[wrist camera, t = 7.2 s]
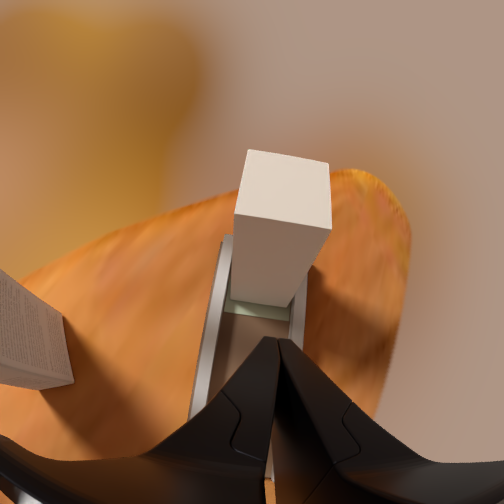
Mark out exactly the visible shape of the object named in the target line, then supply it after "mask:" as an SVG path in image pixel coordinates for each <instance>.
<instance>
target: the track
mask: <svg viewBox="0 0 504 504" xmlns="http://www.w3.org/2000/svg"><path fill="white" fill-rule="evenodd" d="M232 248H233V235H229V234H225V236H224V240H223V242H221V244H220V249H219V254H218V258H217V263H216V268H215V273H214V277H213V282H212V287H211V292H210V297H209V302H208V307H207V312H206V317H205V323H204V328H203V333H202V338H201V344H200V349H199V355H198V360H197V366H196V371H195V377H194V383H193V389H192V395H191V401H190V407H189V413H188V419H187V422H188V421H189V420H190V419H191V418H192V417H194V416H195V415H196V414H197V413H198V412H199V411H201V410H202V409H203V408H204V407H205V406H206V404H207V403H208V402H209V401H210V400H211V399H212V398H213V397H214V396H215V395H216V393H217V392H218V391H219V390H220V389H221V388H222V387H223V385H224V384H225V383H226V382H227V381H228V379H229V378H230V377H231V376H232V374H233V373H234V372H235V371H236V370H237V368H238V367H239V366H240V365H241V363H242V362H243V361H244V360H245V359H246V357H247V356H248V355H249V354H250V352H251V351H252V350H253V349H254V347H255V346H256V345H257V343H258V342H259V341H260V340H261V338H262V337H263V336H270V337H276V338H277V339H278V338H286V339H291V340H292V341H293V342H294V343H295V344H296V345H297V346H298V347H299V348H300V349H301V350H302V351H303V342H304V329H305V315H306V300H307V282H308V272H307V274H306V276H305V278H304V279H303V281H302V283H301V284H300V286H299V288H298V289H297V291H296V293H295V294H294V296H293V298H292V299H291V301H290V303H289V304H288V306H287V308H285V307H277V306H270V305H263V304H257V303H250V302H243V301H237V300H231V299H230V294H231V270H232ZM265 477H268V478H271V479H272V481H273V482H274V470H273V457H272V444H271V439H270V446H269V452H268V459H267V464H266V471H265Z"/></svg>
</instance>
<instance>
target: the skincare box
mask: <svg viewBox="0 0 504 504" xmlns="http://www.w3.org/2000/svg"><path fill="white" fill-rule="evenodd" d="M0 383H1V384H6V385H11V386H16V387H21V388H27V389H32V390H42V389H47V388H53V387H58V386H63V385H68V384H73V383H74V378H73V374H72V369H71V365H70V360H69V355H68V350H67V345H66V339H65V333H64V327H63V319H62V314H61V313H60V312H59V311H57V310H56V309H54V308H53V307H51V306H50V305H48V304H47V303H45V302H44V301H42V300H41V299H39V298H38V297H37V296H35V295H34V294H32V293H31V292H30V291H28V290H27V289H26V288H24V287H23V286H22V285H20V284H19V283H18V282H16V281H15V280H14V279H12V278H11V277H10V276H9V275H7V274H6V273H5V272H4V271H2V270H1V269H0Z"/></svg>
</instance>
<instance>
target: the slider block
mask: <svg viewBox="0 0 504 504" xmlns="http://www.w3.org/2000/svg"><path fill="white" fill-rule="evenodd" d="M331 230H332V218H331V195H330V177H329V164H328V163H324V162H319V161H314V160H309V159H304V158H298V157H294V156H288V155H282V154H276V153H270V152H264V151H257V150H250V149H248V152H247V157H246V162H245V166H244V170H243V175H242V179H241V184H240V189H239V193H238V198H237V203H236V207H235V212H234V228H233V248H232V270H231V294H230V299H231V300H237V301H243V302H250V303H257V304H263V305H270V306H277V307H285V308H287V306H288V304H289V303H290V301H291V299H292V298H293V296H294V294H295V293H296V291H297V289H298V288H299V286H300V284H301V283H302V281H303V279H304V278H305V276H306V274H307V272H308V271H309V269H310V267H311V266H312V264H313V262H314V260H315V259H316V257H317V255H318V253H319V252H320V250H321V248H322V246H323V244H324V243H325V241H326V239H327V237H328V236H329V234H330V232H331Z"/></svg>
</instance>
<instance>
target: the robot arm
mask: <svg viewBox="0 0 504 504" xmlns="http://www.w3.org/2000/svg"><path fill="white" fill-rule="evenodd" d="M270 439H271V444H272V457H273V470H274V483H275V496H276V504H504V461H493V462H476V463H440V462H434V461H431V460H428V459H426V458H423V457H422V456H420V455H418V454H417V453H415V452H414V451H413V450H411V449H410V448H409V447H407V446H406V445H405V444H403V443H402V442H400V441H399V440H398V439H396V438H395V437H394V436H392V435H391V434H390V433H388V432H387V431H386V430H385V429H383V428H382V427H381V426H379V425H378V424H377V423H376V422H375V421H373V420H372V419H371V418H370V417H369V416H368V415H367V414H366V413H365V412H363V411H362V410H361V409H360V408H359V407H358V406H357V405H356V404H355V403H354V402H352V400H351V399H350V398H349V397H348V396H347V395H346V394H345V393H344V392H343V391H342V390H341V389H340V388H339V387H338V386H337V385H336V384H335V383H334V382H333V381H332V380H331V379H330V378H329V377H328V376H327V375H326V374H325V373H324V372H323V371H322V370H321V369H320V368H319V367H318V366H317V365H316V364H315V363H314V362H313V361H312V360H311V359H310V358H309V357H308V356H307V355H306V354H305V353H304V352H303V351H302V350H301V349H300V348H299V347H298V346H297V345H296V344H295V343H294V342H293V341H292V340H291V339H286V338H278V339H277V338H276V337H270V336H263V337H262V338H261V340H260V341H259V342H258V343H257V345H256V346H255V347H254V349H253V350H252V351H251V352H250V354H249V355H248V356H247V357H246V359H245V360H244V361H243V362H242V363H241V365H240V366H239V367H238V368H237V370H236V371H235V372H234V373H233V374H232V376H231V377H230V378H229V379H228V381H227V382H226V383H225V384H224V385H223V387H222V388H221V389H220V390H219V391H218V392H217V393H216V395H215V396H214V397H213V398H212V399H211V400H210V401H209V402H208V403H207V404H206V406H205V407H204V408H203V409H202V410H201V411H199V412H198V413H197V414H196V415H195V416H194V417H192V418H191V419H190V420H189V421H188V422H186V423H185V424H184V425H183V426H181V427H180V428H179V429H177V430H176V431H175V432H173V433H172V434H171V435H170V436H168V437H167V438H166V439H164V440H163V441H162V442H160V443H159V444H157V445H156V446H155V447H153V448H152V449H150V450H148V451H146V452H144V453H142V454H139V455H136V456H131V457H123V458H113V459H102V460H85V461H60V460H53V459H48V458H44V457H42V456H39V455H36V454H34V453H32V452H30V451H28V450H26V449H25V448H23V447H22V446H20V445H18V444H17V443H15V442H14V441H12V440H11V439H9V438H8V437H5V436H3V435H0V490H1V491H2V492H3V493H4V494H5V495H6V496H7V497H8V498H9V499H10V500H12V501H13V502H14V503H15V504H266V497H265V486H264V481H265V471H266V464H267V459H268V452H269V446H270Z"/></svg>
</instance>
